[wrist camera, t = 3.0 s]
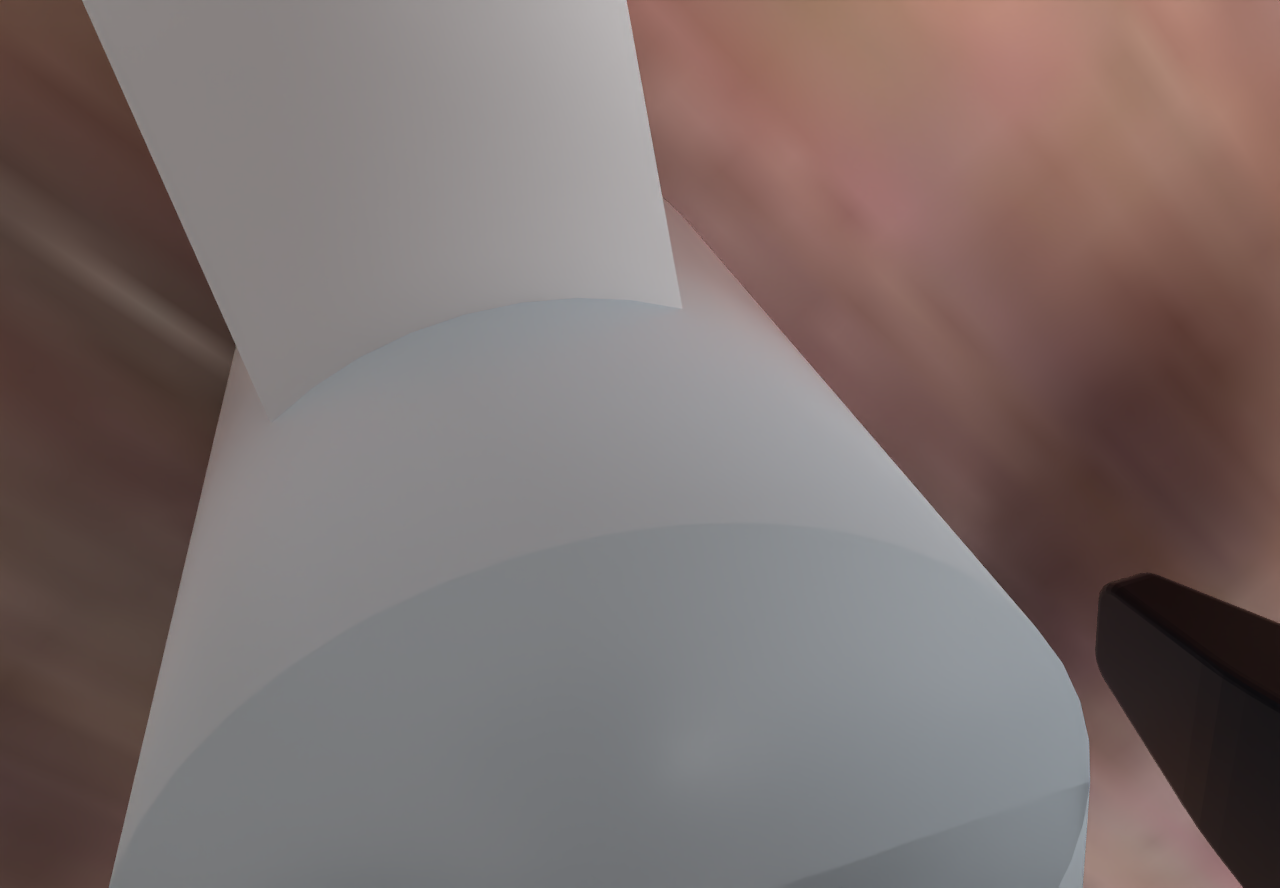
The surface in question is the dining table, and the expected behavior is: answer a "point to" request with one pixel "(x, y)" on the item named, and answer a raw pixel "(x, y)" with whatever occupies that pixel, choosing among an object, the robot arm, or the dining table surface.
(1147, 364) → the dining table surface
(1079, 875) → the connector casing
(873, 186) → the dining table surface
